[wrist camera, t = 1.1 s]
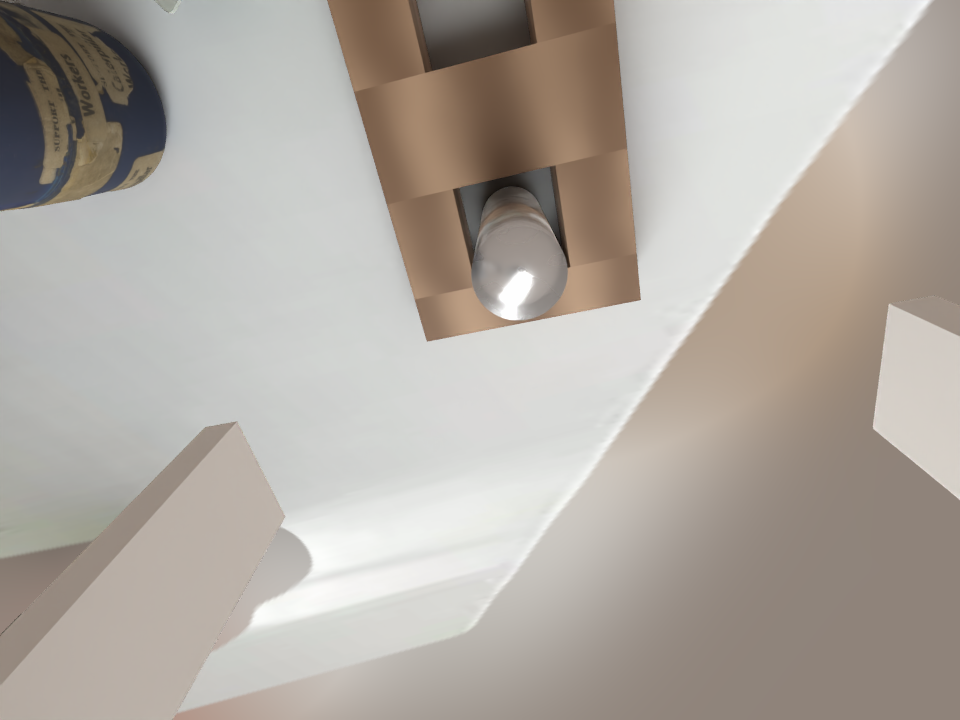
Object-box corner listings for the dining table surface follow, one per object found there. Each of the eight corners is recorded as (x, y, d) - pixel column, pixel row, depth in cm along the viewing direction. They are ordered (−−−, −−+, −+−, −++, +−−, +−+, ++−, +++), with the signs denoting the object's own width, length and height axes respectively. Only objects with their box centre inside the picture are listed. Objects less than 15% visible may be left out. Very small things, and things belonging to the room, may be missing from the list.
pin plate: (434, 320, 36) (426, 343, 33) (319, -89, 27) (289, -126, 23) (626, 281, 35) (641, 301, 31) (579, -172, 25) (594, -227, 21)
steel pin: (488, 253, 34) (482, 328, 22) (476, 194, 33) (461, 238, 20) (546, 240, 34) (574, 310, 21) (536, 180, 32) (560, 216, 19)
